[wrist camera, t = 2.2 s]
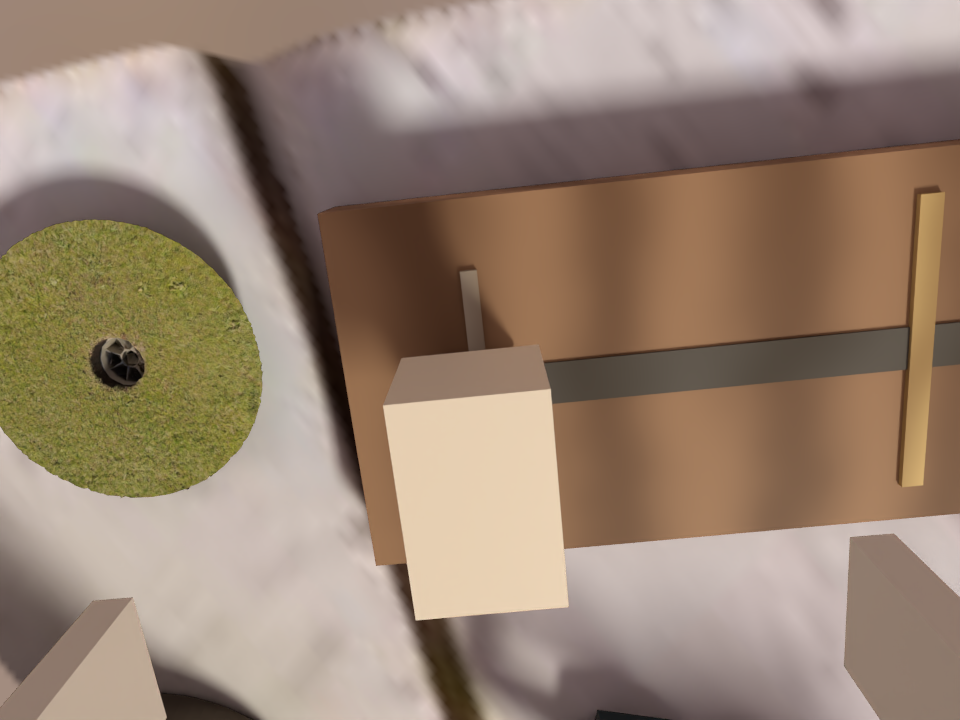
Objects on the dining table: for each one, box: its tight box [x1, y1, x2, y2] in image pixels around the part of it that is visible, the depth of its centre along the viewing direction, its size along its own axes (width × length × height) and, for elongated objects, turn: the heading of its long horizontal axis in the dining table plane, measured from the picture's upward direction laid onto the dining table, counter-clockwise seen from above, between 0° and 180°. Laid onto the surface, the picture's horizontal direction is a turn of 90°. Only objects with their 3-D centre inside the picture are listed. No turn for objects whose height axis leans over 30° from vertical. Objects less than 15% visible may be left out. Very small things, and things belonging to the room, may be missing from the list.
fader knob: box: [383, 344, 569, 620], centre depth 22 cm, size 4×6×9 cm, turn 6°
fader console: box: [317, 139, 960, 566], centre depth 28 cm, size 32×14×3 cm, turn 96°
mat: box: [0, 220, 263, 498], centre depth 29 cm, size 11×11×2 cm
